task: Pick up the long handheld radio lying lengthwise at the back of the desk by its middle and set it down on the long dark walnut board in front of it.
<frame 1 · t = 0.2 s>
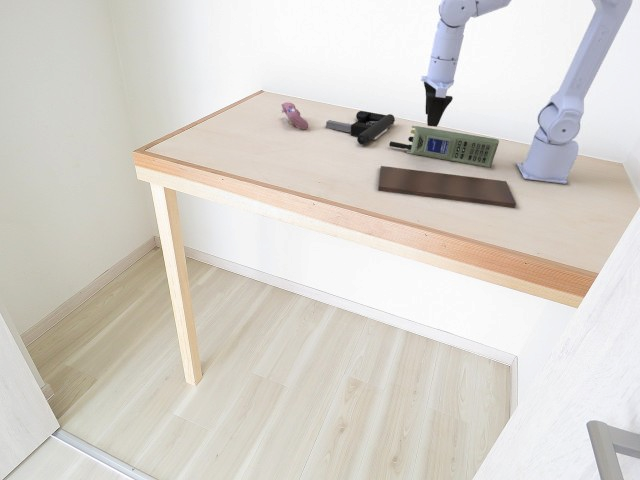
hand: (431, 120, 96), 10 cm above the table, tool pointing down, fingers open, 7 cm apart
door handle: (358, 130, 115), on the table
handheld radio: (438, 157, 104), on the table
pink rounded piece: (293, 124, 116), on the table
walnut board: (443, 187, 91), on the table
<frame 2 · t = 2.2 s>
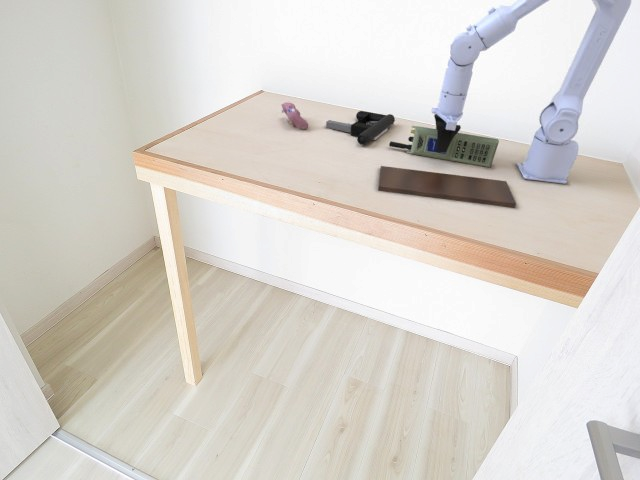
hand: (440, 148, 102), 2 cm above the table, tool pointing down, fingers closed on handheld radio, 3 cm apart
handheld radio: (438, 157, 104), on the table, touching gripper
everything else where it was.
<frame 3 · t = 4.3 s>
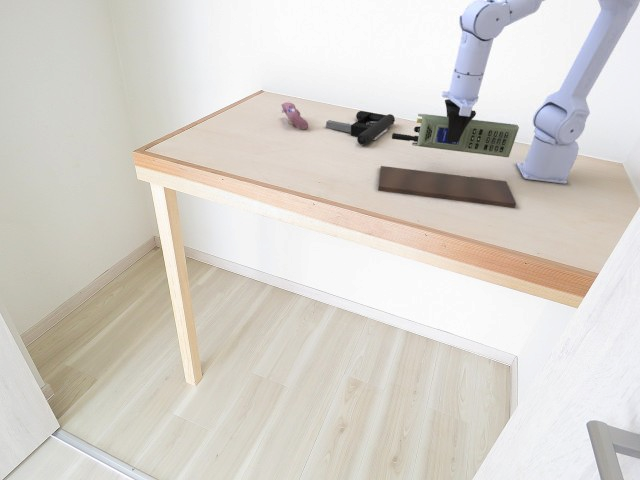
hand: (451, 138, 89), 9 cm above the table, tool pointing down, fingers closed on handheld radio, 3 cm apart
handheld radio: (448, 149, 91), point 7 cm above the table, touching gripper
everything else where it was.
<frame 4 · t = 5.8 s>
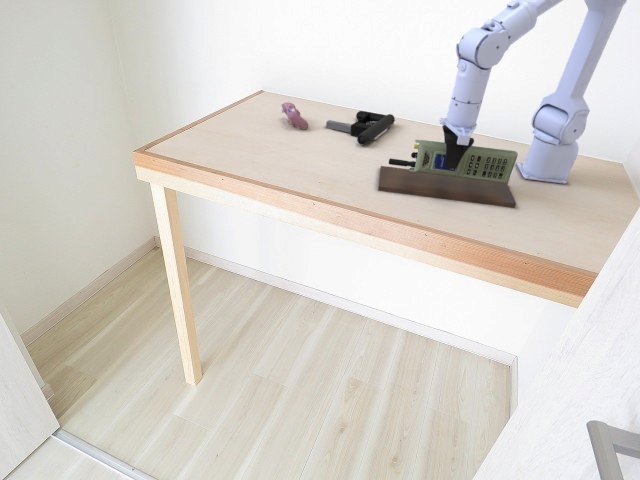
hand: (449, 164, 87), 6 cm above the table, tool pointing down, fingers closed on handheld radio, 3 cm apart
handheld radio: (446, 174, 89), point 3 cm above the table, touching gripper
everything else where it was.
when the fingers open (3 cm above the table, at t = 6.8 s): handheld radio stays where it is, resting on walnut board.
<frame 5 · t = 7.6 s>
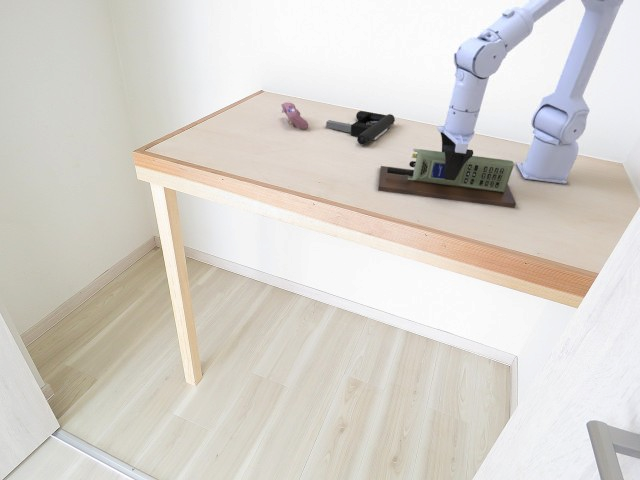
hand: (447, 171, 88), 4 cm above the table, tool pointing down, fingers open, 7 cm apart
handheld radio: (443, 183, 90), point 1 cm above the table, touching walnut board
everything else where it was.
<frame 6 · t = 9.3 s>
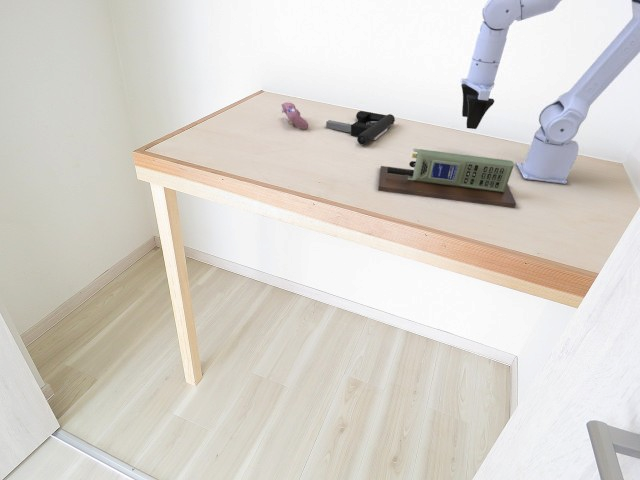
hand: (468, 122, 96), 10 cm above the table, tool pointing down, fingers open, 7 cm apart
nothing on the table moved.
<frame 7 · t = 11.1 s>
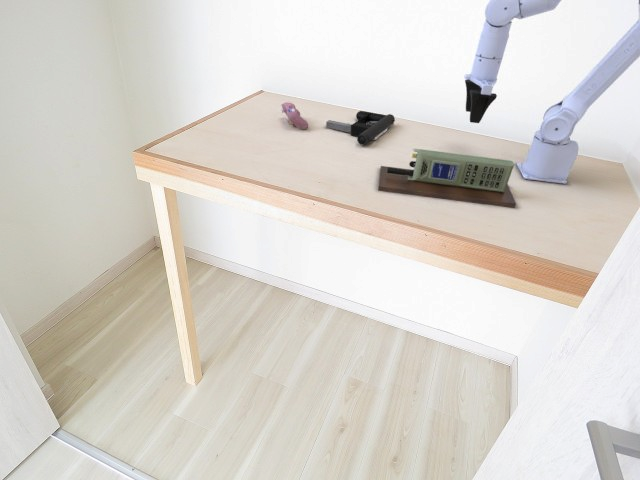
hand: (472, 116, 100), 10 cm above the table, tool pointing down, fingers open, 7 cm apart
nothing on the table moved.
at the end: handheld radio inside the target area on the walnut board (0.3 cm from its centre), point 0.8 cm above the walnut board's base; handheld radio touching walnut board; the gripper is holding nothing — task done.
